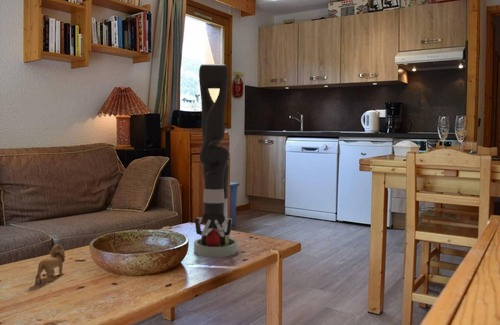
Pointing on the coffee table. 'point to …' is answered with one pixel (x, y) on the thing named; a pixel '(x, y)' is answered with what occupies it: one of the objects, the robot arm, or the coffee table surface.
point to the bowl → (216, 249)
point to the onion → (213, 238)
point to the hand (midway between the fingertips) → (213, 245)
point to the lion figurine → (51, 263)
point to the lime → (225, 242)
